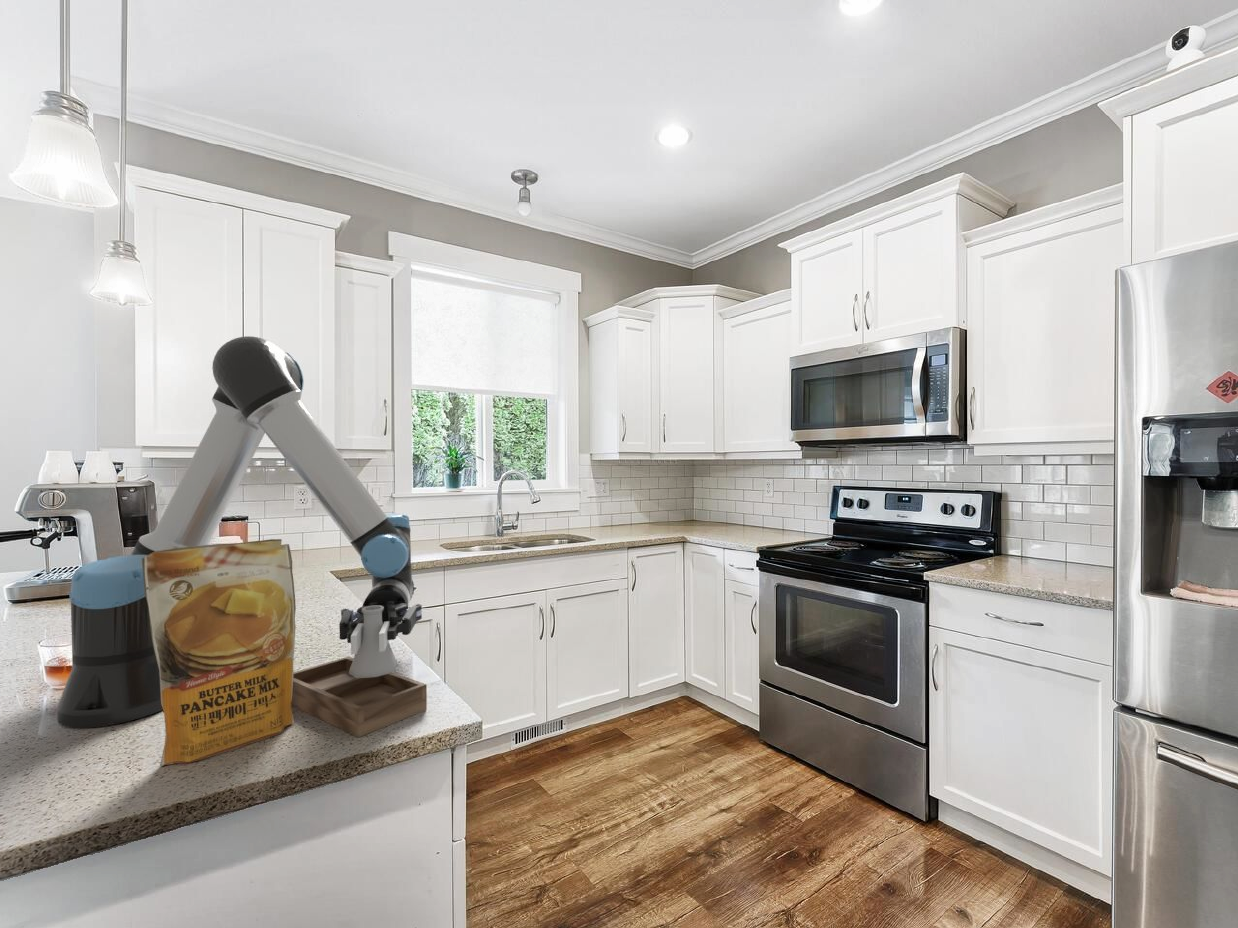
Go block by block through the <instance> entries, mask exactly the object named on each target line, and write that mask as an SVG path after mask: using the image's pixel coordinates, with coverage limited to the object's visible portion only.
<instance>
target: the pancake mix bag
mask: <svg viewBox="0 0 1238 928" xmlns="http://www.w3.org/2000/svg"><path fill="white" fill-rule="evenodd" d="M142 567H143V579H144V590H145V597H146V600H147V603H148V609H149V619H150V628H151V636H152V642H153V647H154V652H155V655H156V659H157V663H158V667H159V673H160V691H161V704H162V708H163V710H162V711H163V716H164V726H165V729H164V731H165V737H164V745H163V749H162V754H161V760H160V762H159V763H160V764H159V767H163V766H168V765H172V764H190V763H194V762H199V761H201V760H204V759H208V758H211V757H213V756H217V755H220V754H224V753H226V752H227V753H228V752H230V751H233V750H236V749H239V748H241V747H243V746H247V745H250V744H253V743H257V742H260V741H264V740H267V739H268V738H272V737H274V736H278V735H279V734H281V733H284V730H285V728H286V727H288V726H291V725H292V724H294V723H295V719H294V715H293V710H292V705H291V701H292V689H293V672H294V661H295V659H294V656H295V642H296V639H295V638H296V619H295V618H296V610H297V607H296V593H295V584H294V582H295V581H294V575H293V558H292V553H291V547H290V544H288V543H286V544H282V538H280V539H279V538H277V539H275V538H271V539H270V538H269V539H263V540H253V541H252V540H251V541H246V542H235V543H234V542H233V543H213V544H209V545H202V546H193V547H183V548H176V549H168V550H162V551H155V552H153V553H151V554H149V555H148V556H146V557H144V558H142Z"/></svg>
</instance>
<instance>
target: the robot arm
mask: <svg viewBox="0 0 1238 928" xmlns="http://www.w3.org/2000/svg"><path fill="white" fill-rule="evenodd" d="M211 367H212V368H211V369H212V375H213V377H214V381H215V383H216V384H217V388H216V391H215V393H214V394H213V396H212V399H211V400H212V403H213V406H214V407H215V410H216V412H215V414H214V415H213V418H212V419H211V421H210V423H209V424H208V425H209V426H208V427H207V428H206V431H205V432H204V434H203V437H202V439H201V440H200V443H199V444H198V446H197V447H196V450H195V451H194V454H193V456H192V458H191V460H190V462H189V464H188V466H187V467H186V469H185V472H184V473H183V475H182V477H181V480H180V481H179V482H178V484H177V487H176V489H175V490H174V493H173V495H172V497H171V499H170V500H169V502H168V504H167V506H166V508H165V510H164V512H163V514H162V516H161V518H160V519H159V522H158V523H157V526H156V527H155V529H154V531H152V532H149V533H147V534H144V535H141V536H139V538H138V540H137V542H136V544H135V546H134V548H133V550H132V552H131V554H129V555H128V554H127V555H119V556H112V557H108V558H106V559H99V560H96V561H92V562H89V563H87V564H84V565H82V566H81V567H79V568H78V569H77V570H76V571H74V573H73V575H72V577H71V584H70V586H71V587H70V590H69V593H68V595H69V601H70V621H71V622H70V623H71V625H70V626H71V627H70V628H71V655H72V656H71V657H72V658H71V661H72V666H71V671H70V673H69V676H68V678H67V680H66V682H65V686H64V689H63V691H62V693H61V697H60V699H59V701H58V703H57V723H58V724H59V725H61V726H63V727H66V728H76V729H77V728H78V729H79V728H80V729H81V728H83V729H84V728H99V727H106V726H110V725H111V726H112V725H117V724H122V723H127V722H130V721H134V720H138V719H141V718H144V717H147V716H151V715H154V714H156V713H158V712H161V711H163V708H162V704H161V691H160V673H159V667H158V663H157V659H156V655H155V652H154V647H153V642H152V636H151V628H150V619H149V609H148V603H147V600H146V597H145V590H144V579H143V567H142V558H144V557H146V556H148V555H149V554H151V553H153V552H155V551H162V550H168V549H176V548H183V547H193V546H202V545H210V542H211V541H212V538H213V537H214V535H215V533H216V531H217V528H218V526H219V525H220V523H221V521H222V519H223V517H224V515H225V514H226V511H227V509H228V507H229V505H230V503H231V501H232V499H233V497H234V495H235V494H236V491H237V489H238V488H239V485H240V483H241V481H242V480H243V477H244V475H245V473H246V472H247V469H248V468H249V466H250V464H251V462H252V460H253V458H254V456H255V454H256V453H257V450H258V448H259V446H260V444H261V442H262V440H263V439H264V436H265V435H266V436H267V437H268V439H269V440H270V442H272V443H273V445H274V446H275V447H276V449H277V450H278V452H280V454H281V456H283V458H284V459H285V460H286V461H287V463H288V464H289V466H290V467H291V468H292V469H293V470H294V472H295V474H296V475H297V476H298V478H300V479H301V481H302V482H303V484H305V486H306V487H307V489H309V491H310V493H311V494H312V495H313V496H314V498H315V499H316V500H317V502H318V503H319V504H320V505H321V507H322V508H323V509H324V510H325V512H326V513H327V514H328V515H329V517H330V518H331V519H332V521H333V522H334V523H335V524H336V526H337V527H338V528H339V530H340V531H341V533H343V535H344V536H345V538H346V539H347V540H348V541H349V543H350V544H351V546H352V547H353V549H354V550H355V551H356V552H357V554H358V555H359V556H360V560H361V564H362V566H363V568H364V569H365V571H366V572H367V573H368V574H370V575H371V588H372V589H371V590H370V591H369V593H368V595H367V597H365V599H364V601H363V603H362V606H360V607H358V608H357V609H356V611H354V609H349V608H343V609H340V621H339V624H338V625H339V627H338V629H339V640H340V641H341V640H343V641H344V640H347V641H346V643H347V644H350V655H355V654H357V652H358V650H359V648H360V646H361V641H362V630H363V624H364V614H363V613H362V608H363V607H367V606H373V605H381V606H383V607H384V609H383V611H382V622H383V626H382V628H381V630H380V633H379V652H382V651H385V649H386V647H387V644H388V642H389V641H393V640H396V639H397V636H398V635H399V634H401V635H403V636H409V634H411V632H412V631H413V628H414V627H415V625H416V624H417V622H419V621H420V620H422V618H423V617H422V612H423V611H422V608H423V607H422V604H420V603H417V604H415V605H410V604H411V603H410V602H411V599H412V598H413V595H414V593H415V584H414V583H415V582H414V580H413V571H412V569H413V568H412V557H411V556H412V552H411V551H412V550H411V549H412V548H411V547H412V546H411V544H412V543H411V525H410V517H409V516H408V515H407V514H405V513H386V514H385V512H384V511H383V509H382V508H381V506H379V504H378V502H376V500H375V499H374V497H373V496H372V495H371V494H370V492H369V490H367V488H366V486H365V485H364V484H363V483H362V482H361V480H360V479H359V477H358V476H357V474H356V473H355V472H354V470H353V469H352V468H351V467H350V466H349V464H348V463H347V462H346V459H345V458H344V457H343V456H342V455H341V453H340V452H339V451H338V449H337V448H336V446H335V445H334V444H333V442H332V441H331V440H330V438H329V437H328V436H327V435H326V433H325V432H324V431H323V429H322V428H321V426H320V425H319V424H318V423H317V421H316V420H315V418H314V417H313V415H311V414H310V412H309V410H308V409H307V408H306V406H305V405H304V404H303V402H302V401H301V397H302V392H303V390H304V389H303V388H304V375H303V372H302V369H301V367H300V365H299V363H298V362H297V360H296V359H295V358H294V357H293V356H292V355H291V354H290V353H288V352H286V351H285V350H283V349H282V348H280V347H278V346H277V345H275V344H274V343H272V342H271V341H269V340H266V339H264V338H261V337H258V336H251V335H250V336H248V335H247V336H239V337H235V338H232V339H230V340H229V341H226V342H225V343H224V344H223V345H221V347H220V348H219V349H218V350H217V352H216V353H215V355H214V358H213V360H212V366H211Z"/></svg>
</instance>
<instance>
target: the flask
mask: <svg viewBox="0 0 1238 928" xmlns="http://www.w3.org/2000/svg"><path fill="white" fill-rule="evenodd" d="M383 609H384V607H383V606H381V605H373V606H367V607H363V608H362V613H363V614H364V624H363V630H362V641H361V646H360V648H359V650H358V652H357V654H354V655H353V658H354V659H353V662H352V664H351V667H350V670H349V673H348V674H350V675H352V676H353V677H355V678H369V677H378V676H382V675H385V674H389V673H392V672H393V673H396V670H397V668H398V667H399V664H398V662H397V659H396V656H395V654H394V651H393V650H392V648H391V644H390V642H389V641H388V644H387V647H386V649H385V651H382V652H379V633H380V630H381V628H382V626H383V622H382V611H383Z"/></svg>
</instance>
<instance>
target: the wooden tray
mask: <svg viewBox="0 0 1238 928" xmlns="http://www.w3.org/2000/svg"><path fill="white" fill-rule="evenodd" d="M353 659H354V657H350V656H346V657H343V658H338V659H335V660H332V661H329V662H324V663H321V664H318V665H314V666H312V667H308V668H304V669H301V670H298V671H293V689H292V701H291V706H293V707H295V708H297V709H299V710H301V711H304V712H306V713H307V714H310V715H311V716H313V717H316V718H318V719H320V720H321V721H324V722H326V723H327V724H330V725H332V726H334V727H335V728H336V727H337V728H339V729H340V730H342V731H344V732H347V733H348V734H350V735H353V736H355V737H357V738H361V737H364V736H365V735H366V736H367V735H368V734H370V733H373V732H375V731H377V730H380V729H383V728H385V727H387V726H388V727H389V726H390V725H392V724H394V723H395V724H396V723H397V722H399V721H402V720H404V719H407V718H409V717H412V716H415V715H417V714H419V713H421V712H423V711H427V707H428V706H427V705H428V704H427V701H428V700H427V697H428V696H427V695H428V693H427V683H424V682H420V681H418V680H415V679H412V678H409V677H407V676H404V675H401V674H399V673H396V672H392V673H389V674H385V675H382V676H378V677H369V678H355V677H353V676H352V675H350V674H348V673H349V670H350V667H351V664H352V662H353Z"/></svg>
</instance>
